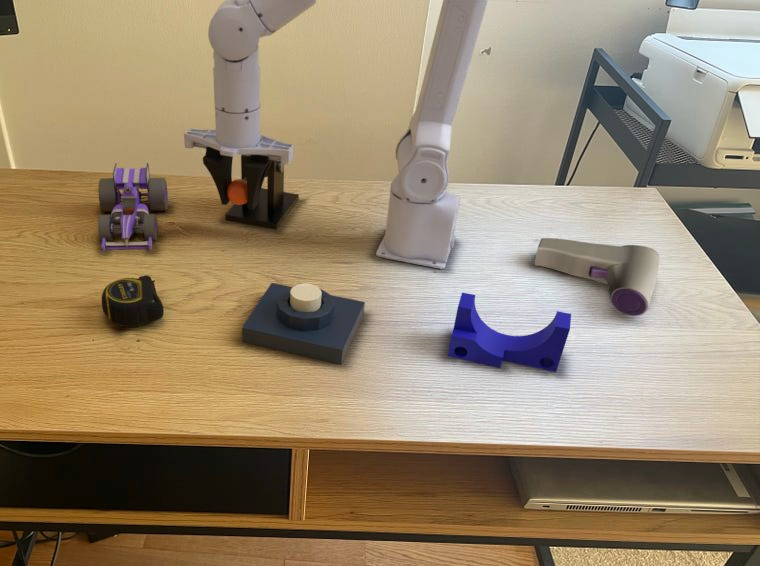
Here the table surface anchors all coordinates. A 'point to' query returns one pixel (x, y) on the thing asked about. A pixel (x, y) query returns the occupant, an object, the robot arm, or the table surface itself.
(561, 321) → the blue semicircular cradle
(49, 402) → the table surface
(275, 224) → the bracket
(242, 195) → the lever
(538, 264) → the infrared thermometer
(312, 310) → the button
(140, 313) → the tape measure
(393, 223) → the robot arm
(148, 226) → the toy race car
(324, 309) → the control block
